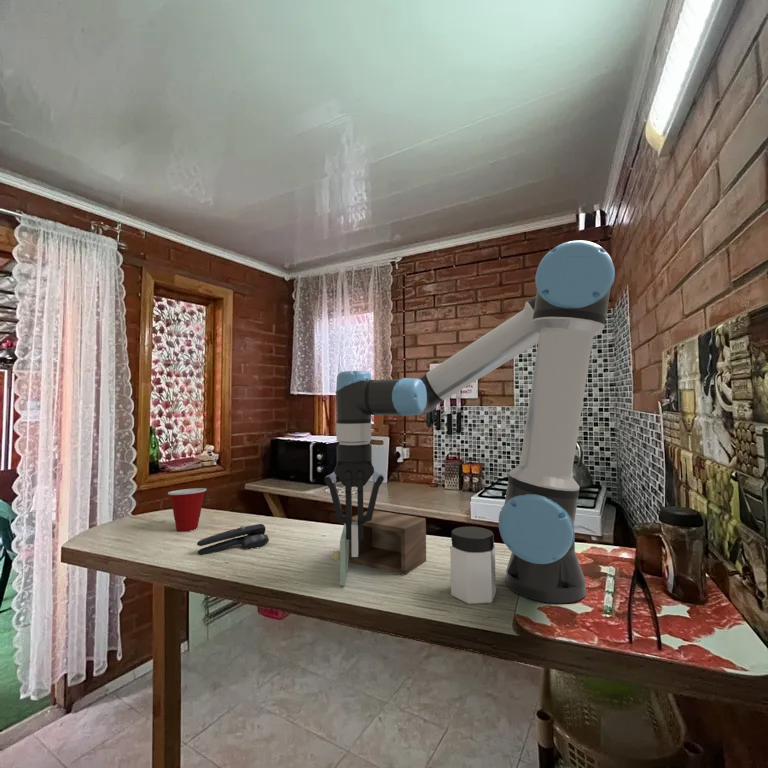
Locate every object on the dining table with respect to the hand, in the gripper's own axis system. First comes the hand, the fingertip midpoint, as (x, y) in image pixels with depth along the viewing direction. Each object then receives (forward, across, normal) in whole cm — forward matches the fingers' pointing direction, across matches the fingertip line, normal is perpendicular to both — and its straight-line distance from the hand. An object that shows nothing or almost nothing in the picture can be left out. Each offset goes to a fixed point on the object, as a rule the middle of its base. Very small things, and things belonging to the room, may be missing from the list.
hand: (355, 554), depth 88 cm
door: (+5, +3, -4) cm, 7 cm away
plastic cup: (+6, +52, -41) cm, 67 cm away
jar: (+6, -23, +8) cm, 25 cm away
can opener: (+6, +33, -23) cm, 40 cm away
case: (+6, -7, -11) cm, 14 cm away
